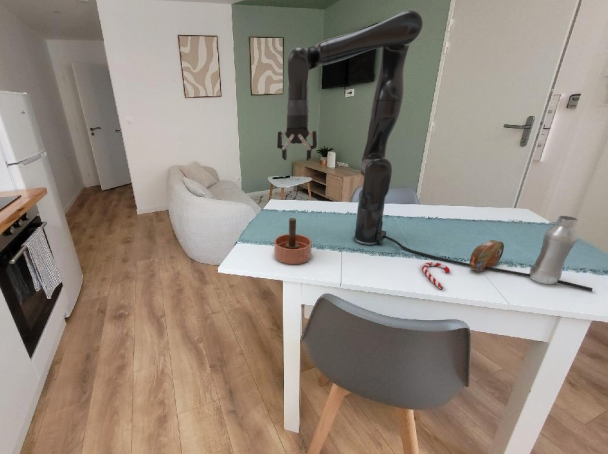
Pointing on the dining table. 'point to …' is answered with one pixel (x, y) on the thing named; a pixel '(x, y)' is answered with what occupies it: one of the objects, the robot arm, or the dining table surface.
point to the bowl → (292, 254)
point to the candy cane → (431, 275)
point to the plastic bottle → (554, 251)
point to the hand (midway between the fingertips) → (296, 160)
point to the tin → (486, 255)
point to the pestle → (292, 235)
